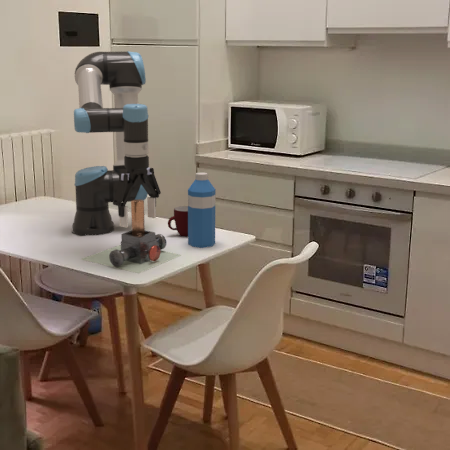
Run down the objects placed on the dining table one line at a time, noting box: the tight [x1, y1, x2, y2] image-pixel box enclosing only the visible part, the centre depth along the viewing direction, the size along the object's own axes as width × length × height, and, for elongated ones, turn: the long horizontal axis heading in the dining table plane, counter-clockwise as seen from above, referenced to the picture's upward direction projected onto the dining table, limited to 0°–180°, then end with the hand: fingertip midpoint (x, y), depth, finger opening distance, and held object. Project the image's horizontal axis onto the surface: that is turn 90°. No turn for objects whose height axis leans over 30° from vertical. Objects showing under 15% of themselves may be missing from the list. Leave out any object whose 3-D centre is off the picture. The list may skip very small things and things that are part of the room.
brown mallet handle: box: [130, 200, 146, 237], centre depth 217 cm, size 4×4×13 cm
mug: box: [167, 205, 188, 238], centre depth 246 cm, size 10×8×10 cm
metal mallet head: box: [109, 229, 167, 267], centre depth 219 cm, size 11×22×8 cm, turn 147°
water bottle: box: [187, 172, 217, 249], centre depth 234 cm, size 9×9×25 cm
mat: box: [80, 244, 182, 274], centre depth 222 cm, size 24×22×1 cm
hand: (138, 221), depth 217 cm, fingers open, 13 cm apart
